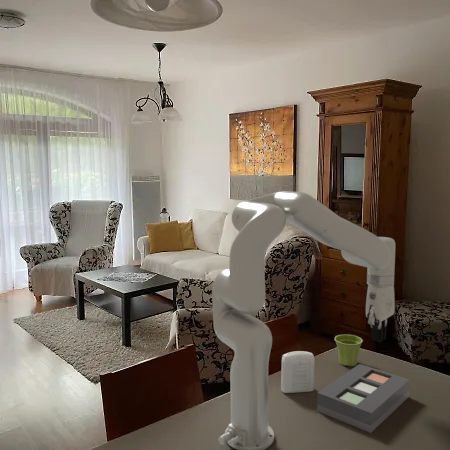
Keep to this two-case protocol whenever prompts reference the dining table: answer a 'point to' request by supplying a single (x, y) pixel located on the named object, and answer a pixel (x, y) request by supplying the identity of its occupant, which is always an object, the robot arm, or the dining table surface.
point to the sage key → (351, 398)
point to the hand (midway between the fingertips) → (378, 339)
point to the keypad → (371, 404)
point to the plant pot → (348, 349)
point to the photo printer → (297, 372)
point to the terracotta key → (377, 378)
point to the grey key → (365, 387)
